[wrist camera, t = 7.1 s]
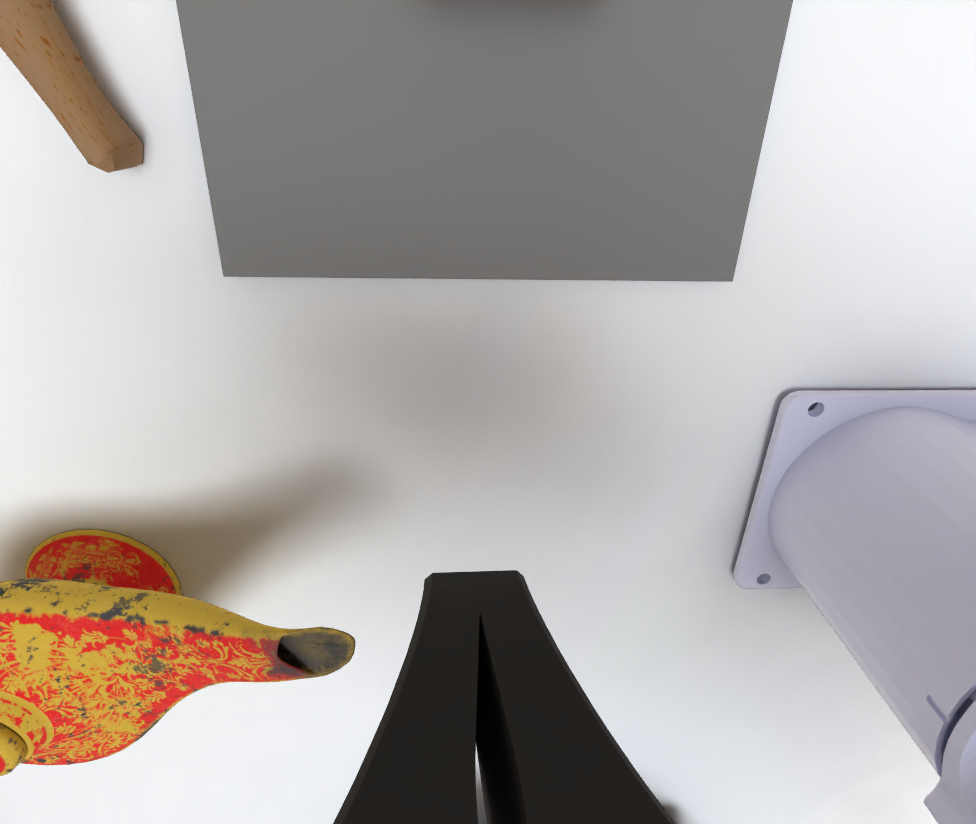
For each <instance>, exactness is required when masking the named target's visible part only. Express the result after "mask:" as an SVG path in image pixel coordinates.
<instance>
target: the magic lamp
mask: <svg viewBox="0 0 976 824" xmlns="http://www.w3.org/2000/svg"><path fill="white" fill-rule="evenodd" d="M354 650H355V639H354V637H352V636H351V635H350V634H348V633H346V632H343V631H340V630H336V629H333V628H325V627H315V628H305V629H283V628H276V627H271V626H267V625H263V624H260V623H257V622H255V621H252V620H250V619H247V618H245V617H242V616H240V615H238V614H235V613H233V612H230V611H228V610H225V609H223V608H220V607H218V606H215V605H212V604H209V603H206V602H203V601H200V600H197V599H193V598H189V597H185V596H182V594H181V588H180V583H179V581H178V579H177V577H176V574H175V573H174V571H173V570H172V569H171V567H170V566H169V564H168V563H167V562H166V561H165V560H164V559H163V558H162V557H161V556H159V555H158V554H157V553H156V552H154V551H153V550H152V549H150V548H149V547H147V546H146V545H144V544H142V543H140V542H138V541H136V540H134V539H132V538H129V537H126V536H123V535H120V534H117V533H112V532H107V531H101V530H75V531H67V532H64V533H61V534H57V535H54V536H52V537H50V538H49V539H47V540H45V541H43V542H42V543H41V544H40V545H39V546H37V547H36V548H35V549H34V550H33V552H32V553H31V555H30V557H29V558H28V560H27V564H26V568H25V579H19V580H10V581H1V582H0V776H2V775H5V774H8V773H10V772H11V771H12V770H13V769H14V768H15V767H16V766H17V765H18V764H19V763H23V764H37V765H69V764H76V763H83V762H89V761H93V760H97V759H101V758H104V757H108V756H110V755H112V754H115V753H117V752H119V751H121V750H124V749H125V748H127V747H128V746H130V745H131V744H133V743H134V742H136V741H137V740H138V739H140V738H141V737H142V736H144V735H145V734H146V733H147V732H148V731H149V730H150V729H151V728H152V727H153V726H154V725H155V724H156V723H157V722H158V721H159V720H160V719H161V718H162V717H163V716H164V715H165V714H166V713H167V712H168V711H169V710H170V709H171V708H172V707H173V706H174V705H176V704H177V703H178V702H179V701H181V700H182V699H183V698H185V697H187V696H188V695H190V694H192V693H194V692H195V691H198V690H200V689H202V688H205V687H207V686H211V685H214V684H218V683H225V682H278V681H289V680H296V679H304V678H313V677H320V676H325V675H328V674H330V673H332V672H335V671H337V670H339V669H340V668H341V667H343V666H344V665H345V664H347V663H348V662H349V661H350V660H351V658H352V656H353V654H354Z"/></svg>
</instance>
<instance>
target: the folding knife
mask: <svg viewBox="0 0 976 824" xmlns="http://www.w3.org/2000/svg"><path fill="white" fill-rule="evenodd" d="M0 47H1V48H2V50H3V51H4V52H5V53H6V55H7V56H8V57H9V58H10V60H11V61H12V62H13V63H14V65H15V66H16V67H17V68H18V69H19V71H20V72H21V73H22V74H23V76H24V77H25V78H26V79H27V81H28V82H29V83H30V85H31V86H32V87H33V88H34V90H35V91H36V92H37V93H38V95H39V96H40V97H41V99H42V100H43V101H44V102H45V104H46V105H47V106H48V108H49V109H50V110H51V111H52V113H53V114H54V115H55V117H56V118H57V120H58V121H59V122H60V124H61V125H62V126H63V128H64V129H65V131H66V132H67V133H68V135H69V136H70V138H71V139H72V141H73V142H74V144H75V145H76V146H77V148H78V149H79V151H80V152H81V153H82V155H83V156H84V158H85V159H86V160H87V162H88V164H90V165H93V166H95V167H97V168H99V169H101V170H103V171H106V172H108V173H109V172H113V171H118V170H122V169H127V168H131V167H135V166H138V165H140V164H142V161H143V147H144V146H143V144H142V142H141V141H140V139H139V138H138V137H137V136H136V135H135V134H134V132H133V131H132V130H131V129H130V128H129V126H128V125H127V124H126V123H125V122H124V121H123V119H122V118H121V117H120V116H119V115H118V113H117V112H116V111H115V109H114V108H113V107H112V105H111V104H110V103H109V101H108V100H107V99H106V97H105V96H104V94H103V93H102V91H101V90H100V88H99V87H98V85H97V84H96V82H95V80H94V79H93V77H92V75H91V73H90V72H89V70H88V68H87V67H86V65H85V63H84V61H83V60H82V58H81V56H80V54H79V53H78V51H77V49H76V47H75V45H74V43H73V41H72V40H71V38H70V36H69V34H68V32H67V30H66V29H65V27H64V25H63V23H62V21H61V19H60V17H59V16H58V14H57V12H56V10H55V8H54V6H53V5H52V3H51V1H50V0H0Z"/></svg>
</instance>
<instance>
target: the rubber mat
mask: <svg viewBox="0 0 976 824" xmlns="http://www.w3.org/2000/svg"><path fill="white" fill-rule="evenodd" d="M176 3H177V9H178V15H179V20H180V26H181V32H182V38H183V44H184V49H185V55H186V61H187V67H188V73H189V78H190V84H191V90H192V96H193V101H194V107H195V113H196V119H197V125H198V130H199V136H200V142H201V148H202V154H203V159H204V165H205V171H206V177H207V183H208V188H209V194H210V200H211V206H212V212H213V217H214V223H215V229H216V235H217V241H218V246H219V252H220V258H221V264H222V270H223V275H224V276H226V277H327V278H428V279H530V280H631V281H733V277H734V272H735V267H736V263H737V258H738V254H739V249H740V244H741V240H742V235H743V230H744V226H745V221H746V216H747V212H748V207H749V202H750V198H751V193H752V188H753V184H754V179H755V175H756V170H757V165H758V161H759V156H760V151H761V147H762V142H763V137H764V133H765V128H766V123H767V119H768V114H769V109H770V105H771V100H772V96H773V91H774V86H775V82H776V77H777V72H778V68H779V63H780V58H781V54H782V49H783V44H784V40H785V35H786V30H787V26H788V21H789V17H790V12H791V7H792V3H793V0H176Z"/></svg>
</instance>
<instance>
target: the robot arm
mask: <svg viewBox="0 0 976 824" xmlns="http://www.w3.org/2000/svg"><path fill="white" fill-rule="evenodd" d="M816 402H818V404H817V406H816V407H815V408H814V409H813V410H811V411H808V409H809V407H810V406H811V405H812V404H813V403H816ZM761 574H764V575H762V576H760V575H761ZM758 576H760V577H758ZM733 578H734V579H735V581H736V583H737V584H738V586H739V587H741V588H745V589H758V588H795V587H803V588H804V590H805V591H806V593H807V594H808V595H809V597H810V598H811V599H812V601H813V602H814V604H815V605H816V606H817V608H818V609H819V610H820V612H821V613H822V615H823V616H824V617H825V619H826V620H827V622H828V623H829V624H830V626H831V627H832V628H833V630H834V631H835V633H836V634H837V635H838V637H839V638H840V639H841V641H842V642H843V644H844V645H845V646H846V648H847V649H848V651H849V652H850V653H851V655H852V656H853V657H854V659H855V660H856V662H857V663H858V664H859V666H860V667H861V668H862V670H863V671H864V673H865V674H866V675H867V677H868V678H869V680H870V681H871V682H872V684H873V685H874V686H875V688H876V689H877V691H878V692H879V693H880V695H881V696H882V697H883V699H884V700H885V702H886V703H887V704H888V706H889V707H890V709H891V710H892V711H893V713H894V714H895V715H896V717H897V718H898V720H899V721H900V722H901V724H902V725H903V726H904V728H905V729H906V731H907V732H908V733H909V735H910V736H911V738H912V739H913V740H914V742H915V743H916V744H917V746H918V747H919V749H920V750H921V751H922V753H923V754H924V755H925V757H926V758H927V760H928V761H929V762H930V764H931V765H932V766H933V768H934V769H935V771H936V772H937V773H938V775H939V776H940V780H939V782H938V784H937V785H936V786H935V788H934V789H933V790H932V791H931V792H930V793H929V794H928V795H927V797H926V798H925V799H924V803H925V805H926V806H927V808H928V809H929V811H930V812H931V814H932V815H933V817H934V818H935V820H936V821H937V823H938V824H976V390H806V391H794V392H792V393H790V394H788V395H787V396H786V397H785V398H784V399H783V400H782V402H781V404H780V407H779V410H778V414H777V418H776V421H775V425H774V428H773V432H772V436H771V439H770V443H769V446H768V450H767V454H766V457H765V461H764V464H763V468H762V472H761V475H760V479H759V482H758V486H757V490H756V493H755V497H754V500H753V504H752V508H751V511H750V515H749V518H748V522H747V526H746V529H745V533H744V536H743V540H742V544H741V547H740V551H739V554H738V558H737V562H736V565H735V569H734V572H733ZM476 746H477V754H478V761H479V768H480V775H481V782H482V790H483V797H484V804H485V811H486V818H487V824H675V822H674V821H673V820H672V818H671V817H670V816H669V815H668V813H667V812H666V811H665V809H664V808H663V807H662V805H661V804H660V803H659V801H658V800H657V799H656V797H655V796H654V795H653V793H652V792H651V791H650V789H649V788H648V786H647V785H646V784H645V782H644V781H643V779H642V778H641V777H640V775H639V774H638V773H637V771H636V770H635V768H634V767H633V765H632V764H631V763H630V761H629V760H628V758H627V757H626V755H625V754H624V752H623V751H622V749H621V748H620V747H619V745H618V744H617V742H616V741H615V739H614V738H613V736H612V735H611V733H610V732H609V730H608V729H607V727H606V726H605V724H604V723H603V721H602V720H601V718H600V717H599V715H598V713H597V712H596V710H595V709H594V707H593V706H592V704H591V702H590V701H589V699H588V697H587V696H586V694H585V693H584V691H583V689H582V688H581V686H580V684H579V683H578V681H577V679H576V678H575V676H574V674H573V673H572V671H571V670H570V668H569V666H568V665H567V663H566V661H565V659H564V658H563V656H562V654H561V652H560V651H559V649H558V647H557V645H556V643H555V641H554V640H553V638H552V636H551V634H550V632H549V630H548V628H547V626H546V625H545V623H544V621H543V619H542V617H541V615H540V613H539V611H538V609H537V606H536V604H535V602H534V600H533V598H532V596H531V593H530V591H529V589H528V586H527V584H526V581H525V579H524V576H522V575H521V574H520V573H519V572H518V571H517V570H512V571H481V572H449V573H432V574H431V575H430V576H428V577H427V578H426V579H425V582H424V591H423V597H422V602H421V606H420V611H419V615H418V619H417V622H416V626H415V629H414V633H413V636H412V639H411V642H410V645H409V648H408V652H407V655H406V657H405V660H404V663H403V666H402V668H401V671H400V674H399V676H398V679H397V682H396V684H395V687H394V690H393V692H392V695H391V698H390V700H389V703H388V705H387V708H386V710H385V713H384V715H383V718H382V720H381V722H380V724H379V727H378V729H377V731H376V733H375V736H374V738H373V740H372V742H371V745H370V747H369V749H368V751H367V754H366V756H365V758H364V761H363V763H362V765H361V767H360V770H359V772H358V774H357V776H356V778H355V780H354V782H353V785H352V787H351V789H350V791H349V793H348V795H347V797H346V799H345V801H344V803H343V805H342V807H341V809H340V811H339V813H338V815H337V817H336V819H335V821H334V823H333V824H478V816H477V802H476V773H475V751H476Z"/></svg>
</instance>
